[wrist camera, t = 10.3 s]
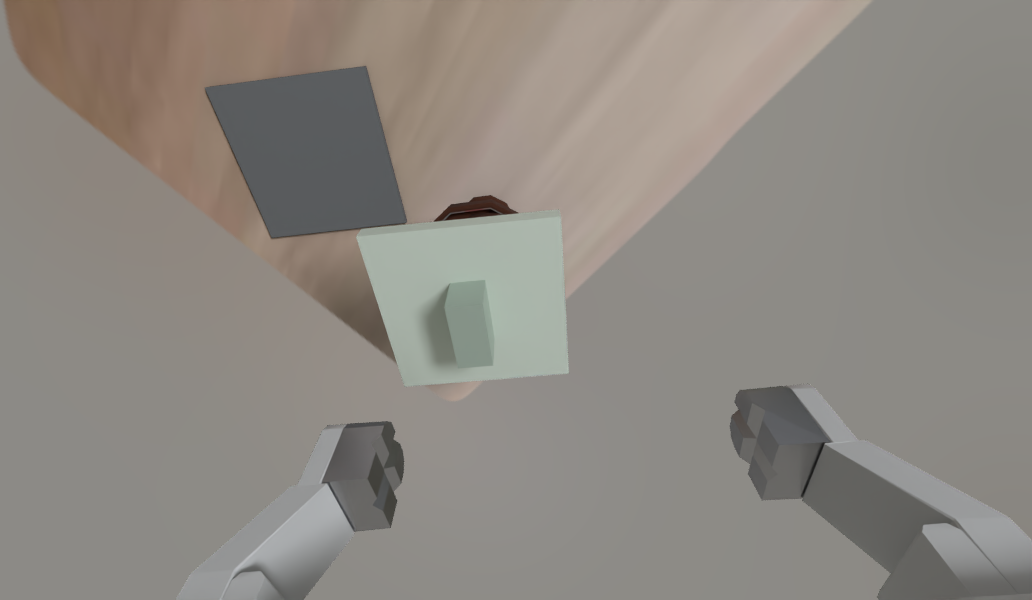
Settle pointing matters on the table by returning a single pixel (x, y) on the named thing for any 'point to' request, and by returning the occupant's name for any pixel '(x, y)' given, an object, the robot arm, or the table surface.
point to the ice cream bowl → (476, 209)
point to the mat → (311, 151)
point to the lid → (471, 296)
